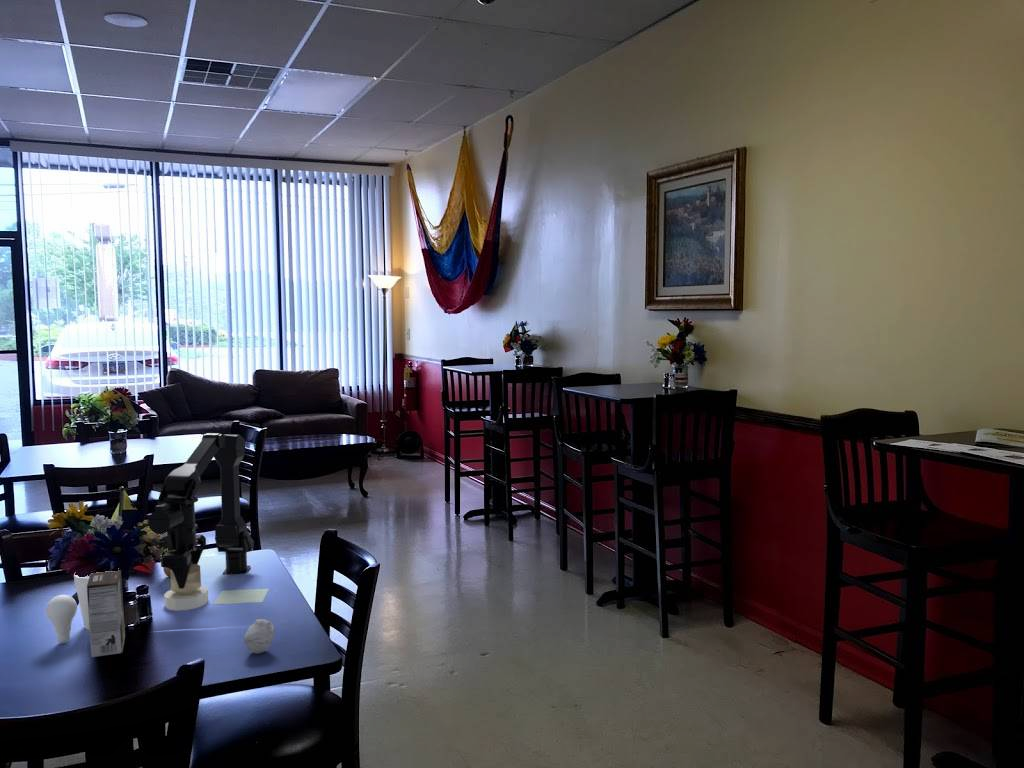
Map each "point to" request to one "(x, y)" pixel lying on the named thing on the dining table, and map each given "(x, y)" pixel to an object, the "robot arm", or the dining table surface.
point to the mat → (241, 596)
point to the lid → (188, 580)
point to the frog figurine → (259, 636)
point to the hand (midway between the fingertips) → (185, 583)
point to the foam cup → (83, 597)
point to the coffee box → (105, 613)
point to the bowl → (186, 599)
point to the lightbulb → (61, 615)
